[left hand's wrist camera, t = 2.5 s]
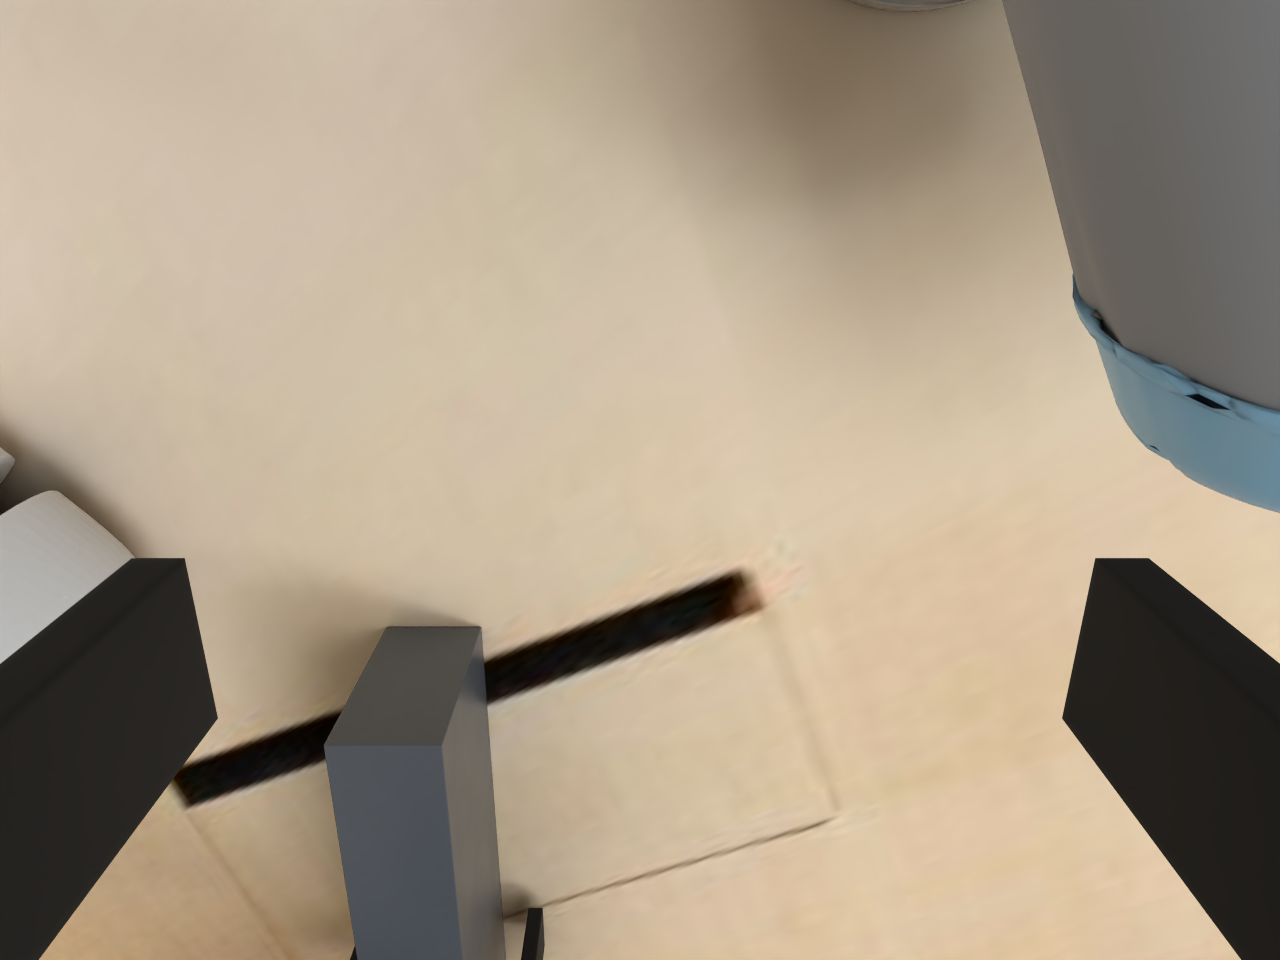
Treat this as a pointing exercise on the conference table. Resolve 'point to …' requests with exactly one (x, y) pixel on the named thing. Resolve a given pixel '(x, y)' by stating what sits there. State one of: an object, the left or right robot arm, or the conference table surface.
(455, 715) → the bar
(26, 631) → the projector
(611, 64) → the conference table surface
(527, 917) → the right robot arm
